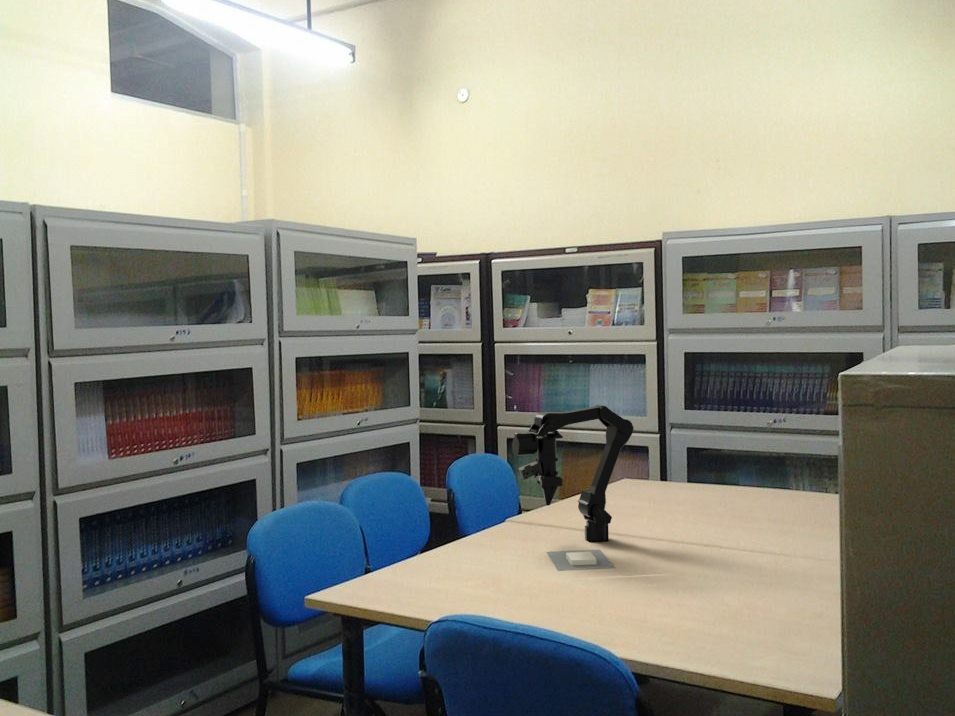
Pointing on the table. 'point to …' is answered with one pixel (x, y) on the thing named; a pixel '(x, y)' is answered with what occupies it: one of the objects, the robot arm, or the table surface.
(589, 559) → the tile
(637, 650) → the table surface
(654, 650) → the table surface
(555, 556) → the mat
